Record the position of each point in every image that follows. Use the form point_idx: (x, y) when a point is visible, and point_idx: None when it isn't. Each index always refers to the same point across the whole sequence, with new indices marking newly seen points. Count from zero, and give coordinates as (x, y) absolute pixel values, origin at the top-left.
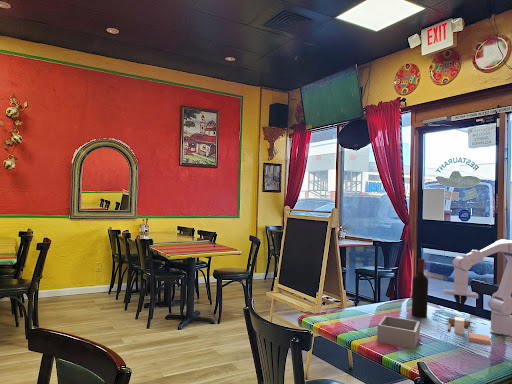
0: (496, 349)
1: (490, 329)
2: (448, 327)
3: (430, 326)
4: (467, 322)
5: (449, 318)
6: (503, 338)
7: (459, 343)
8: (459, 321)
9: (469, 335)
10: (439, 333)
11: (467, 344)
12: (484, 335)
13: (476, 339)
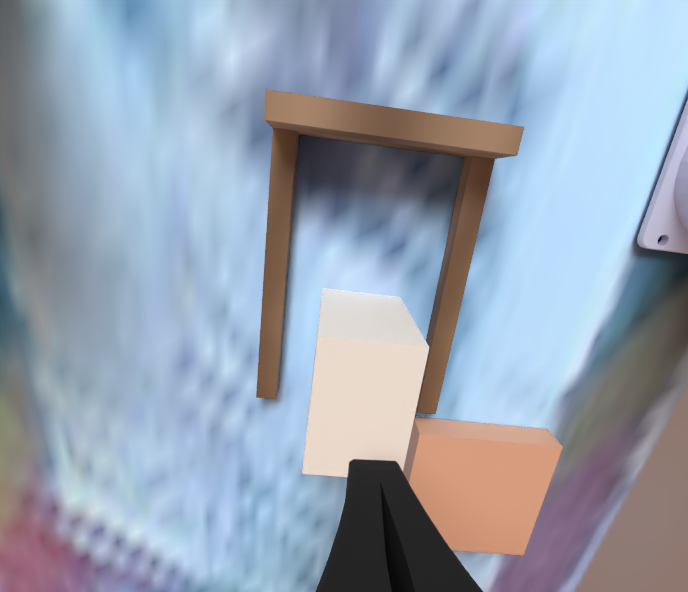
0: (521, 587)
1: (678, 161)
2: (265, 343)
3: (115, 317)
4: (477, 152)
5: (274, 122)
6: (678, 352)
7: None
8: None
9: None
10: (201, 467)
11: None
12: (527, 453)
13: None
